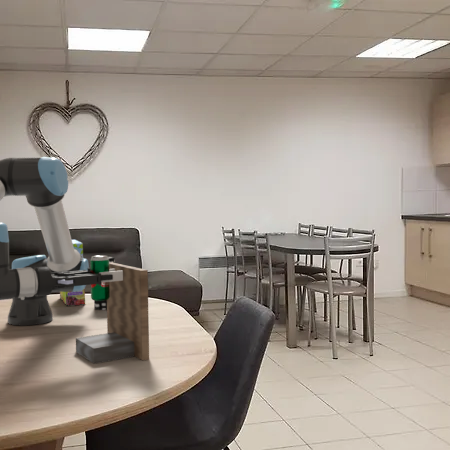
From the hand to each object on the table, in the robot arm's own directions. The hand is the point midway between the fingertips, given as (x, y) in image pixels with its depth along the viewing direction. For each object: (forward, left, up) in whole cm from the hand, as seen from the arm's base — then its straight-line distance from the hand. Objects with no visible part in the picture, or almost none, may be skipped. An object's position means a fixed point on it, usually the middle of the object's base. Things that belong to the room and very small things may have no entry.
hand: (118, 274), depth 159 cm
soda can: (+2, -5, -7) cm, 9 cm away
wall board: (+1, -3, -22) cm, 22 cm away
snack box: (-86, -23, -22) cm, 91 cm away
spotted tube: (-68, -8, -22) cm, 72 cm away
